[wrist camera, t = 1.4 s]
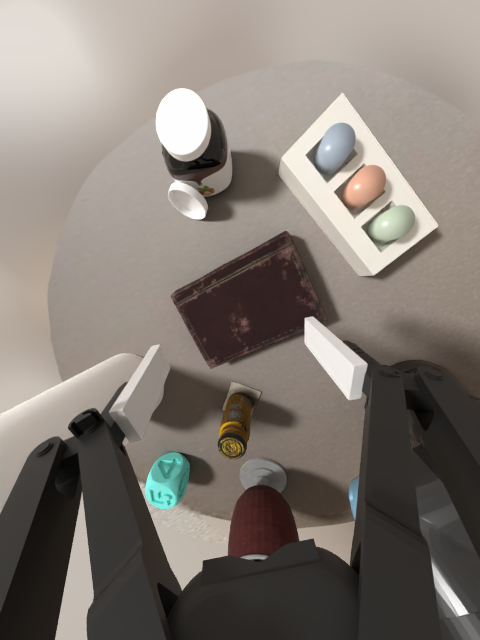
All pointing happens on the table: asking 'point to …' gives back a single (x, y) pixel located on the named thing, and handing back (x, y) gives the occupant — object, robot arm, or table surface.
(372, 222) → the sage button
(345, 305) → the table surface
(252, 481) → the mate gourd
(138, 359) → the cylinder
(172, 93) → the spread jar
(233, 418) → the condiment
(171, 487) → the decorative dice
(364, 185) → the terracotta button
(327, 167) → the slate button
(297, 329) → the diary
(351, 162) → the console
